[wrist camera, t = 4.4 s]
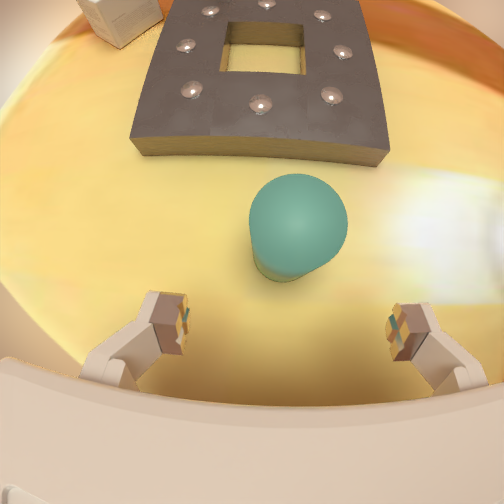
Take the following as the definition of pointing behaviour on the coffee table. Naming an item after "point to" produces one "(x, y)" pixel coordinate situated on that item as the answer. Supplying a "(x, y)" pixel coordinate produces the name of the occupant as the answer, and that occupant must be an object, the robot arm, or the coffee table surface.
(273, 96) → the rosette socket
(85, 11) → the product box
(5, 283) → the coffee table surface
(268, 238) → the teal cylinder
